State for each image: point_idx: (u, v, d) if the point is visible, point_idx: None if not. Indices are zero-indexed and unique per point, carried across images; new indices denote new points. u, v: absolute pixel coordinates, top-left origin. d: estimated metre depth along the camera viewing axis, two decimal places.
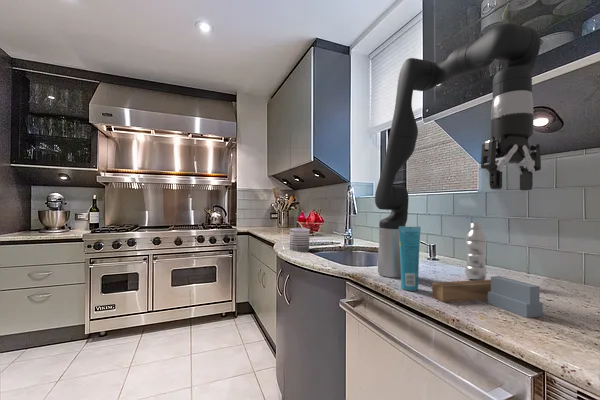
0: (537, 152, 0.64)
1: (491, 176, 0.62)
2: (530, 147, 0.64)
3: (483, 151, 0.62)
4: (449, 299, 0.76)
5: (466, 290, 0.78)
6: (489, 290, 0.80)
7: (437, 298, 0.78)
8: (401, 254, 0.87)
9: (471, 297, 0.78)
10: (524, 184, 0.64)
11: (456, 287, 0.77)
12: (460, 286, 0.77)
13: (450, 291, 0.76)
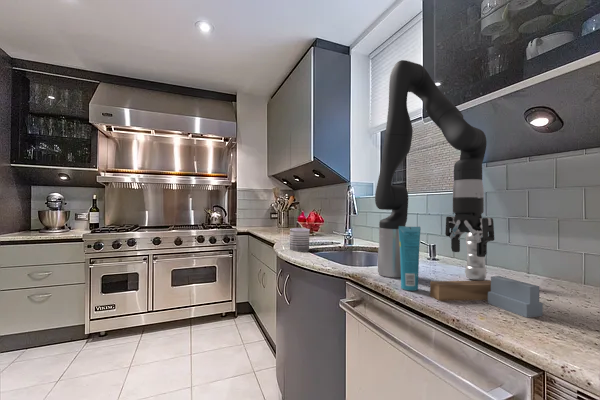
0: None
1: (483, 247, 0.75)
2: None
3: (487, 226, 0.74)
4: (445, 298, 0.77)
5: (465, 289, 0.78)
6: (490, 291, 0.79)
7: (434, 297, 0.79)
8: (401, 254, 0.87)
9: (469, 297, 0.78)
10: (456, 247, 0.84)
11: (454, 286, 0.78)
12: (458, 286, 0.78)
13: (447, 290, 0.77)
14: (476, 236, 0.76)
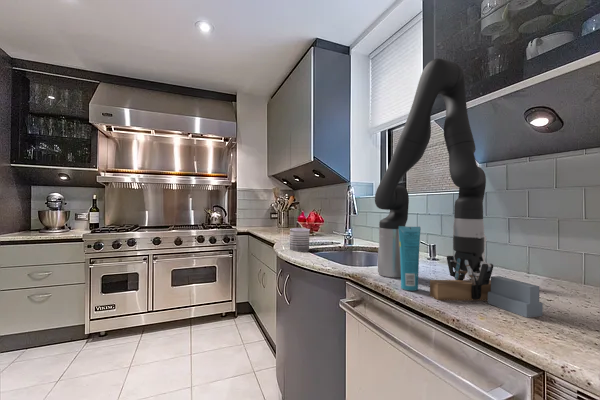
0: None
1: (478, 290, 0.77)
2: None
3: (485, 273, 0.74)
4: (444, 297, 0.78)
5: (465, 288, 0.78)
6: None
7: (433, 295, 0.79)
8: (401, 254, 0.87)
9: (470, 296, 0.78)
10: None
11: (453, 285, 0.78)
12: (457, 284, 0.78)
13: (446, 289, 0.78)
14: (472, 278, 0.77)
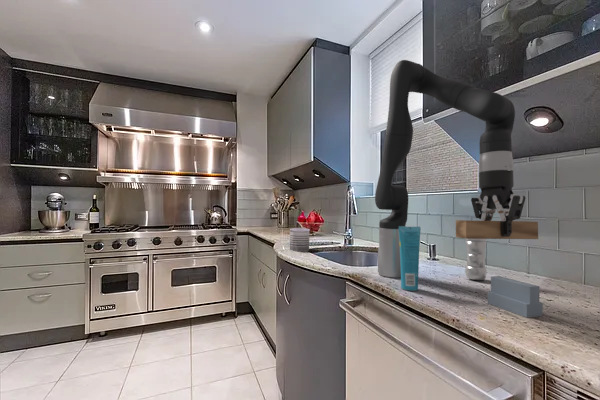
0: None
1: (508, 225, 0.71)
2: None
3: (517, 205, 0.69)
4: (473, 235, 0.72)
5: (494, 226, 0.73)
6: (522, 228, 0.73)
7: (460, 235, 0.74)
8: (401, 254, 0.87)
9: (499, 234, 0.73)
10: None
11: (482, 222, 0.72)
12: (486, 222, 0.72)
13: (475, 226, 0.72)
14: (501, 214, 0.72)
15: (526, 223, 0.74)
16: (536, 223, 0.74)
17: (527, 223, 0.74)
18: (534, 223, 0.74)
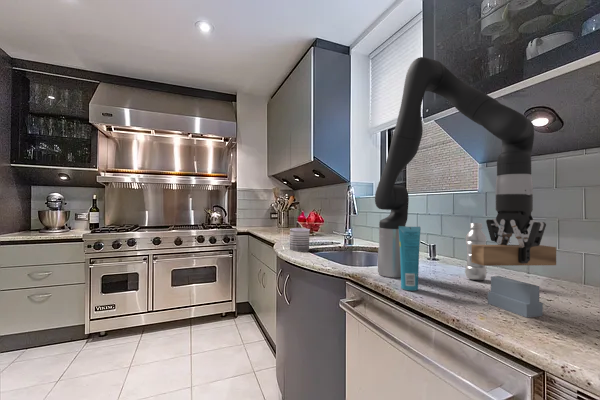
0: None
1: (527, 252, 0.69)
2: None
3: (537, 232, 0.66)
4: (491, 262, 0.69)
5: (512, 252, 0.70)
6: (540, 254, 0.71)
7: (477, 261, 0.71)
8: (401, 254, 0.87)
9: (517, 260, 0.70)
10: None
11: (500, 248, 0.69)
12: (504, 248, 0.69)
13: (492, 253, 0.69)
14: (520, 240, 0.69)
15: (544, 249, 0.71)
16: (554, 249, 0.71)
17: (545, 249, 0.71)
18: (552, 249, 0.71)
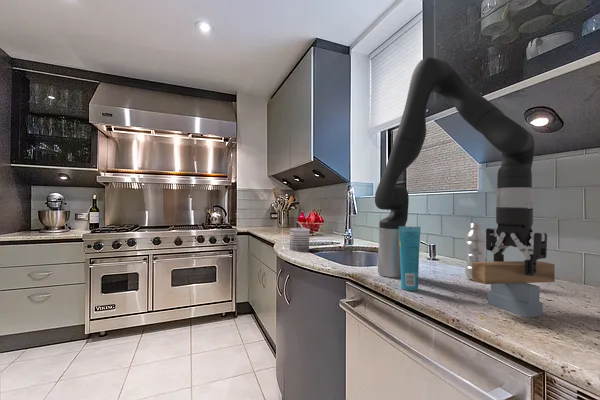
0: None
1: (533, 264, 0.67)
2: None
3: (540, 243, 0.65)
4: (492, 280, 0.69)
5: (512, 270, 0.70)
6: (539, 271, 0.71)
7: (478, 279, 0.70)
8: (401, 254, 0.87)
9: (517, 278, 0.70)
10: None
11: (501, 266, 0.69)
12: (505, 266, 0.69)
13: (493, 271, 0.69)
14: (524, 252, 0.68)
15: (543, 266, 0.71)
16: (553, 265, 0.72)
17: (544, 266, 0.71)
18: (551, 266, 0.72)
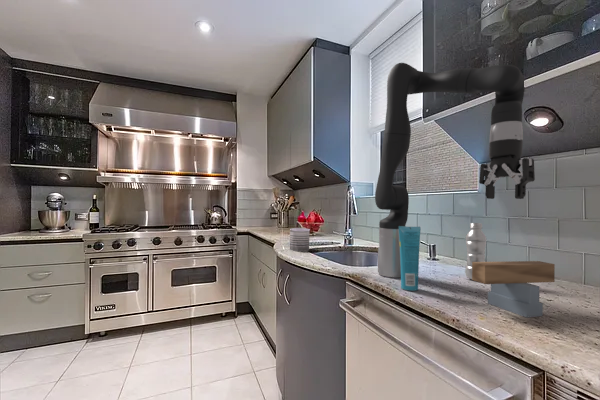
0: None
1: (522, 188, 0.74)
2: None
3: (528, 166, 0.73)
4: (492, 280, 0.69)
5: (512, 270, 0.70)
6: (539, 271, 0.71)
7: (478, 279, 0.70)
8: (401, 254, 0.87)
9: (517, 278, 0.70)
10: (491, 193, 0.83)
11: (501, 266, 0.69)
12: (505, 266, 0.69)
13: (493, 271, 0.69)
14: (515, 178, 0.75)
15: (543, 266, 0.71)
16: (553, 265, 0.72)
17: (544, 266, 0.71)
18: (551, 266, 0.72)
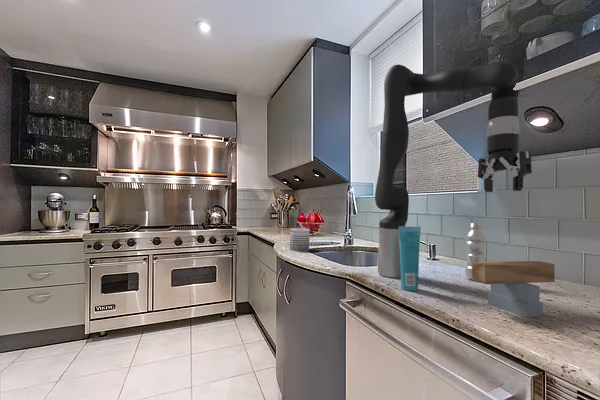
0: None
1: (520, 180, 0.77)
2: None
3: (525, 159, 0.75)
4: (492, 280, 0.69)
5: (512, 270, 0.70)
6: (539, 271, 0.71)
7: (478, 279, 0.70)
8: (401, 254, 0.87)
9: (517, 278, 0.70)
10: (489, 187, 0.85)
11: (501, 266, 0.69)
12: (505, 266, 0.69)
13: (493, 271, 0.69)
14: (512, 171, 0.78)
15: (543, 266, 0.71)
16: (553, 265, 0.72)
17: (544, 266, 0.71)
18: (551, 266, 0.72)
